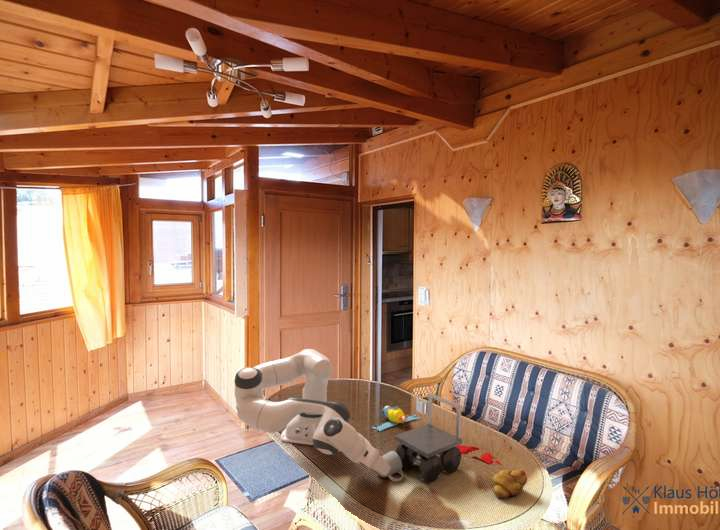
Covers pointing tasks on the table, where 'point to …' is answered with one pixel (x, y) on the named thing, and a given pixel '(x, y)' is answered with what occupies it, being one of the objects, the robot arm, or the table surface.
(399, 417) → the owl figurine
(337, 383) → the table surface
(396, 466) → the ceramic mug
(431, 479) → the trolley
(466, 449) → the cloth
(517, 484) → the bread roll
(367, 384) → the table surface
